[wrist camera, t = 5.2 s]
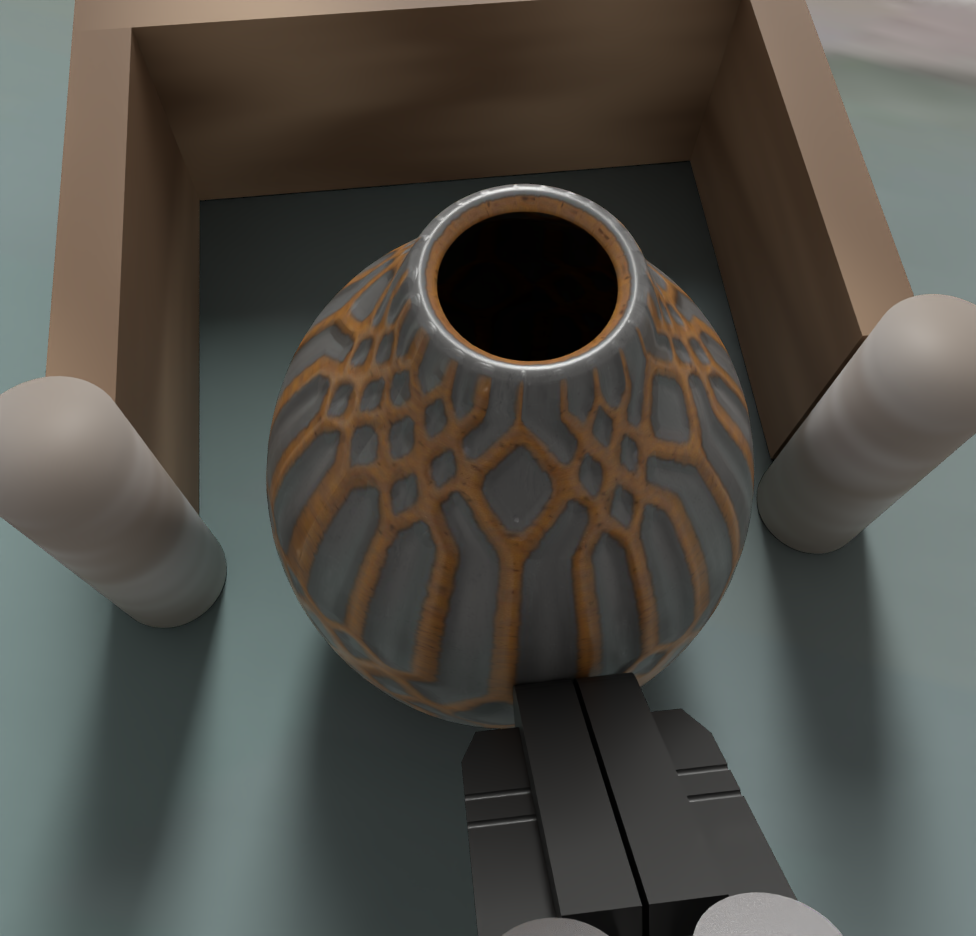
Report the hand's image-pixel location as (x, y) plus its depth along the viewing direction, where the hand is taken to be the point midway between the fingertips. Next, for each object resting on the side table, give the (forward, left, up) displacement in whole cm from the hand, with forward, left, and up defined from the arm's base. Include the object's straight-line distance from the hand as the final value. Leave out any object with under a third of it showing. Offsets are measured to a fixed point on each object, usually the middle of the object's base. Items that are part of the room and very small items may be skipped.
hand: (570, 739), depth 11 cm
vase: (0, +4, -5) cm, 6 cm away
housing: (0, +9, -4) cm, 10 cm away
